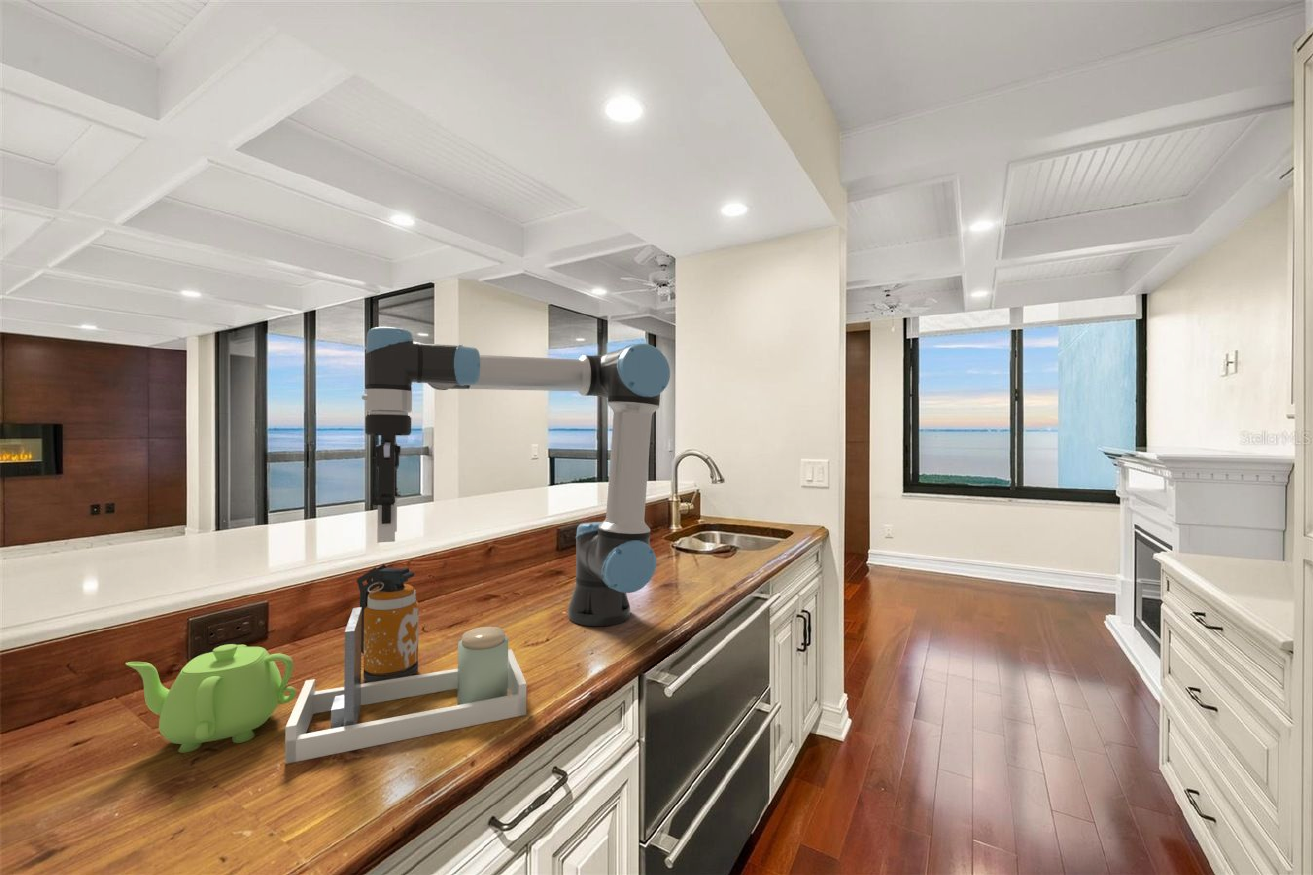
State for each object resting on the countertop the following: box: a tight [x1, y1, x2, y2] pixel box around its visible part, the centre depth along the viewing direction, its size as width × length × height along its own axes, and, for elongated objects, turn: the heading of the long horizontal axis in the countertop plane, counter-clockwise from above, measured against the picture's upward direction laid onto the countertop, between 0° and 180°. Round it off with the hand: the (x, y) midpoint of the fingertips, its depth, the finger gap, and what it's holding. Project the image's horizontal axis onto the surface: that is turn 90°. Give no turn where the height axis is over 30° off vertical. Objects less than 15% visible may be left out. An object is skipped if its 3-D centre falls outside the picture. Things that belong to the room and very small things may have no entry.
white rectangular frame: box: [284, 648, 527, 765], centre depth 84 cm, size 32×14×5 cm, turn 114°
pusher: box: [330, 607, 362, 729], centre depth 80 cm, size 3×11×16 cm, turn 25°
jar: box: [456, 626, 509, 705], centre depth 88 cm, size 8×8×11 cm
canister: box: [356, 564, 420, 683], centre depth 97 cm, size 9×11×20 cm
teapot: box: [125, 643, 297, 754], centre depth 78 cm, size 16×14×13 cm
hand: (387, 536), depth 97 cm, fingers open, 9 cm apart
